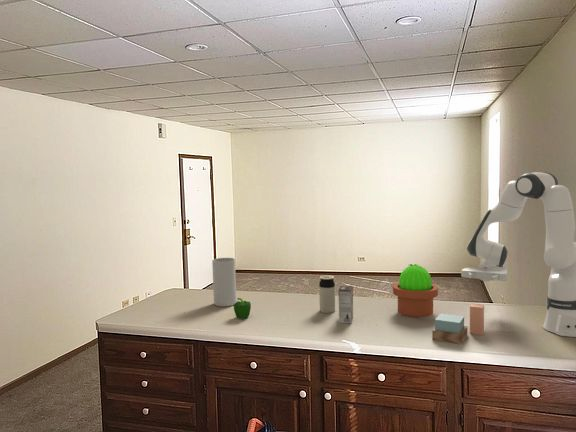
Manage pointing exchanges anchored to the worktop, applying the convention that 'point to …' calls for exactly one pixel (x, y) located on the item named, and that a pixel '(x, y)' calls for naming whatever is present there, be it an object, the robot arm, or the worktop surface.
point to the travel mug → (327, 294)
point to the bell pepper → (242, 309)
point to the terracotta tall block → (477, 319)
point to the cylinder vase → (224, 281)
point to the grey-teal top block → (449, 323)
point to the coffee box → (345, 304)
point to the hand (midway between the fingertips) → (481, 277)
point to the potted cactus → (415, 292)
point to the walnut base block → (450, 336)
